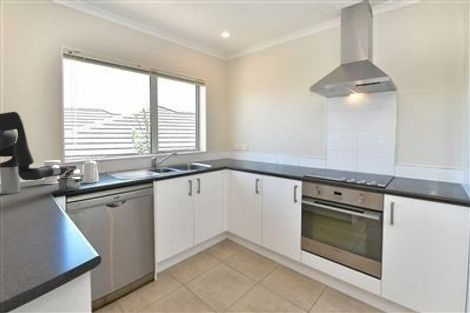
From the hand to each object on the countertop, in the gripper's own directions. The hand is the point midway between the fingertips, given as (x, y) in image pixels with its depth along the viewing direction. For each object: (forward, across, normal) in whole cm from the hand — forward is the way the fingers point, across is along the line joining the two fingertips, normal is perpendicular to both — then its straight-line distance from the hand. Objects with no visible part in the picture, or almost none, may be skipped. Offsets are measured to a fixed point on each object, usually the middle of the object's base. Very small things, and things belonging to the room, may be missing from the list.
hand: (74, 167), depth 173 cm
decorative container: (+14, +31, +15) cm, 37 cm away
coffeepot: (+21, +3, +15) cm, 26 cm away
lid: (-5, 0, +5) cm, 7 cm away
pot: (-5, 0, +15) cm, 16 cm away
